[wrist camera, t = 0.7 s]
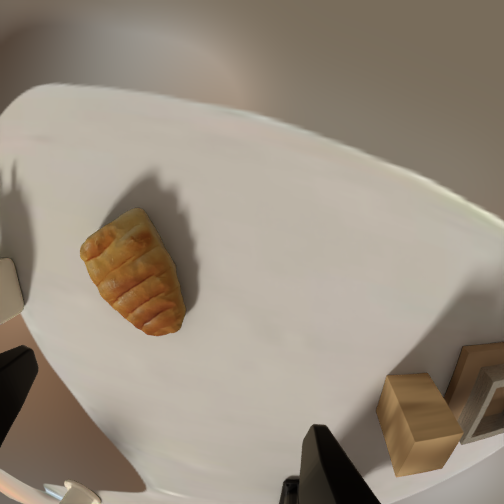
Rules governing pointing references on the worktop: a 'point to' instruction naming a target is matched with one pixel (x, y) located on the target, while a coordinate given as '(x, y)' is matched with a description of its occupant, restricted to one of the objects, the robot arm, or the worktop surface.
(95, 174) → the worktop surface
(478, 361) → the plate
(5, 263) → the power adapter
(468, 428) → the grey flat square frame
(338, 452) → the robot arm
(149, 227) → the pastry
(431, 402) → the rail post
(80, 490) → the candle
